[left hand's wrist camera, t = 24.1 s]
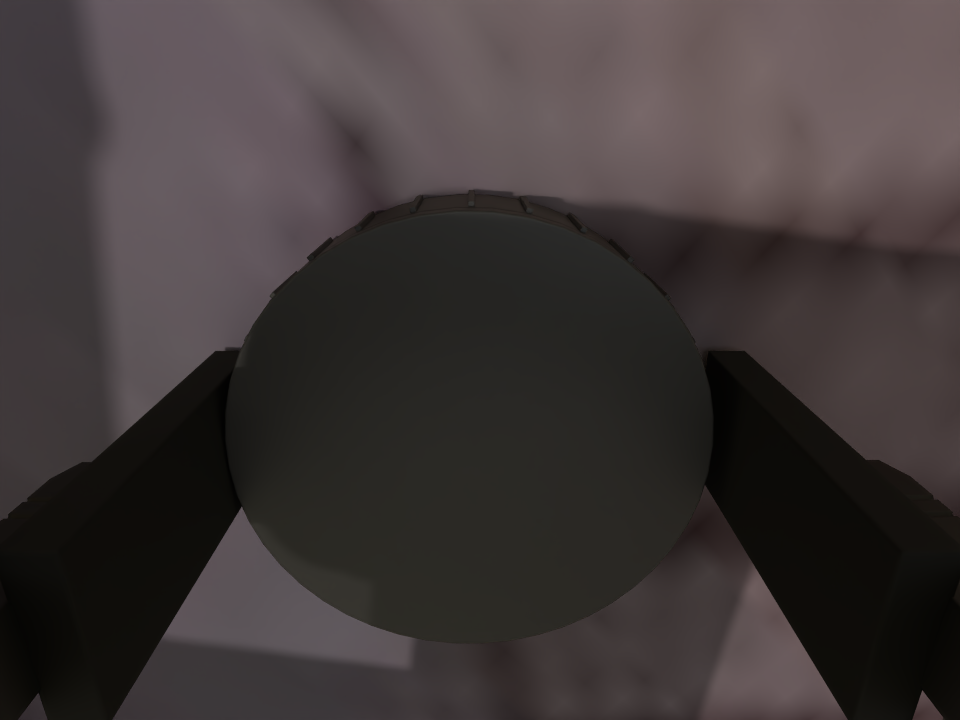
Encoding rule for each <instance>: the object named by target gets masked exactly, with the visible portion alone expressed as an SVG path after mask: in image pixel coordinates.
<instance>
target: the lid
mask: <svg viewBox="0 0 960 720" xmlns="http://www.w3.org/2000/svg"><path fill="white" fill-rule="evenodd" d="M307 259H308V260H309V262H308V263H307V264H306V265H305V266H304V267H302V268H301V269H300V270H299V271H298V272H297V271H296V272H295V273H294V274H292V275H291V276H290V277H289V278H288V279H287V280H286V281H285V282H284V283H282V284H281V285H280V286H279V287H278V288H277V289H276V290H275V291H274V292H272V294H271V295H270V297H271V298H272V299H271V300H270V302H269V303H268V304H267V306H266V307H265V309H264V310H263V312H262V313H261V314H260V316H259V317H258V319H257V320H256V321H255V323H254V324H253V326H252V328H251V330H250V332H249V334H248V335H247V336H246V337H245V340H244V341H245V342H244V344H243V346H242V348H241V350H240V352H239V354H238V358H237V361H236V364H235V367H234V370H233V373H232V376H231V379H230V383H229V390H228V396H227V402H226V408H225V444H226V451H227V458H228V465H229V470H230V473H231V477H232V480H233V484H234V487H235V490H236V494H237V496H238V499H239V501H240V503H241V505H242V507H243V510H244V512H245V514H246V516H247V518H248V521H249V522H250V524H251V525H252V527H253V529H254V530H255V532H256V533H257V535H258V537H259V538H260V540H261V541H262V543H263V544H264V546H265V547H266V548H267V549H268V550H269V552H270V553H271V554H272V555H273V556H274V558H275V559H276V560H277V561H278V563H279V564H280V565H281V566H282V567H283V568H284V569H285V570H286V571H287V572H288V573H289V574H291V575H292V576H293V577H294V578H295V579H296V580H297V581H298V582H299V583H300V584H301V585H303V586H304V587H305V588H307V589H308V590H309V591H311V592H312V593H313V594H315V595H316V596H317V597H319V598H320V599H321V600H323V601H324V602H326V603H328V604H329V605H331V606H333V607H335V608H336V609H338V610H340V611H341V612H343V613H345V614H347V615H349V616H351V617H353V618H356V619H358V620H360V621H362V622H365V623H367V624H369V625H371V626H374V627H377V628H380V629H383V630H386V631H390V632H393V633H396V634H399V635H404V636H408V637H413V638H418V639H423V640H429V641H438V642H447V643H490V642H501V641H510V640H515V639H520V638H525V637H530V636H535V635H539V634H542V633H545V632H549V631H552V630H555V629H558V628H562V627H564V626H567V625H569V624H571V623H574V622H576V621H578V620H581V619H583V618H585V617H588V616H590V615H591V614H593V613H595V612H597V611H599V610H600V609H602V608H604V607H606V606H607V605H609V604H611V603H613V602H614V601H615V600H617V599H618V598H620V597H621V596H622V595H624V594H625V593H627V592H628V591H629V590H631V589H632V588H633V587H635V586H636V585H637V584H638V583H639V582H640V581H641V580H642V579H644V578H645V577H646V576H647V575H648V574H649V573H650V572H651V571H652V570H653V569H655V567H656V566H657V565H658V564H659V563H660V562H661V560H662V559H663V558H664V557H665V556H666V555H667V553H668V552H669V551H670V550H671V549H672V548H673V546H674V545H675V543H676V542H677V540H678V539H679V537H680V536H681V534H682V533H683V531H684V530H685V528H686V527H687V525H688V523H689V521H690V519H691V517H692V515H693V513H694V511H695V509H696V507H697V504H698V502H699V500H700V497H701V494H702V491H703V488H704V485H705V482H706V479H707V476H708V472H709V466H710V461H711V455H712V449H713V430H714V414H713V406H712V398H711V390H710V386H709V382H708V378H707V375H706V371H705V368H704V364H703V361H702V358H701V356H700V354H699V352H698V349H697V347H696V345H695V340H694V338H693V337H692V336H691V334H690V332H689V330H688V329H687V327H686V326H685V324H684V323H683V321H682V319H681V318H680V316H679V315H678V313H677V312H676V310H675V309H674V307H673V306H672V304H671V303H670V302H669V301H668V300H670V299H671V298H670V297H669V295H668V294H667V293H666V292H665V291H664V290H663V289H661V288H660V287H659V286H658V285H657V284H656V283H655V282H654V281H653V280H652V279H651V278H650V277H649V276H647V275H646V274H645V273H644V274H643V273H642V272H641V271H640V270H639V269H638V268H636V267H635V266H634V265H633V264H632V262H633V261H634V259H633V258H632V257H631V256H630V255H629V254H628V253H627V252H626V251H624V250H623V249H622V248H621V247H620V246H619V245H618V244H617V243H616V242H614V241H613V240H612V239H611V240H610V241H609V242H607V241H606V240H605V239H604V238H603V237H601V236H600V235H598V234H597V233H595V232H594V231H592V230H590V229H589V228H587V227H586V226H584V225H583V224H582V223H581V222H580V221H579V220H578V219H577V218H576V217H575V216H574V215H573V214H571V213H569V214H568V215H567V216H565V215H563V214H561V213H558V212H556V211H554V210H552V209H550V208H546V207H543V206H540V205H536V204H533V203H530V202H528V200H527V198H526V197H524V196H520V200H519V199H512V198H506V197H500V196H493V195H474V190H469V194H468V195H466V194H458V195H449V196H440V197H432V198H426V199H423V196H422V195H420V196H417V197H416V199H415V200H414V202H410V203H406V204H402V205H398V206H396V207H394V208H391V209H389V210H386V211H384V212H381V213H379V214H376V215H375V213H374V212H370V213H369V214H368V215H367V216H366V217H365V218H363V219H362V220H361V221H360V222H359V223H358V224H357V225H356V226H354V227H352V228H350V229H349V230H347V231H345V232H344V233H343V234H341V235H340V236H339V237H338V238H336V239H335V240H334V241H333V239H332V238H331V237H330V238H329V239H327V240H326V241H325V242H324V243H323V244H322V245H321V246H319V247H318V248H317V249H316V250H315V251H314V252H313V253H311V254H310V255H309V256H308V257H307Z"/></svg>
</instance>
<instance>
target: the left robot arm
mask: <svg viewBox="0 0 960 720" xmlns="http://www.w3.org/2000/svg"><path fill="white" fill-rule="evenodd" d="M239 352H240V351H215V352H214V353H213V354H212V355H211V356H210V357H208V358H207V359H206V360H205V361H204V362H203V363H202V364H201V365H200V366H198V367H197V368H196V369H195V370H194V371H193V372H192V373H191V374H189V375H188V376H187V377H186V378H185V379H184V380H183V381H182V382H181V383H179V384H178V385H177V386H176V387H175V388H174V389H173V390H172V391H171V392H169V393H168V394H167V395H166V396H165V397H164V398H163V399H162V400H160V401H159V402H158V403H157V404H156V405H155V406H154V407H153V408H152V409H150V410H149V411H148V412H147V413H146V414H145V415H144V416H143V417H142V418H140V419H139V420H138V421H137V422H136V423H135V424H134V425H133V426H132V427H130V428H129V429H128V430H127V431H126V432H125V433H124V434H123V435H121V436H120V437H119V438H118V439H117V440H116V441H115V442H114V443H113V444H111V445H110V446H109V447H108V448H107V449H106V450H105V451H104V452H103V453H101V454H100V455H99V456H98V457H97V458H96V459H95V460H94V461H92V462H82V463H80V464H78V465H76V466H74V467H72V468H70V469H68V470H66V471H64V472H62V473H60V474H59V475H57V476H55V477H53V478H51V479H49V480H48V481H47V482H46V483H45V484H44V485H42V486H41V487H40V488H39V489H38V490H37V491H35V492H34V493H33V494H32V495H31V496H29V497H28V498H27V499H28V500H27V502H22V503H21V504H20V505H19V506H18V507H16V508H15V509H14V510H13V511H12V512H11V513H9V514H8V519H2V520H1V521H0V720H18V719H19V717H20V716H21V715H22V713H23V712H24V711H25V709H26V708H27V707H28V705H29V704H30V703H31V702H32V700H33V699H34V698H35V696H36V695H37V694H38V692H39V695H40V698H41V701H42V704H43V707H44V710H45V713H46V716H47V719H48V720H112V719H113V717H114V716H115V714H116V712H117V711H118V709H119V708H120V706H121V704H122V703H123V701H124V699H125V698H126V696H127V694H128V693H129V691H130V689H131V688H132V686H133V685H134V683H135V681H136V680H137V678H138V676H139V675H140V673H141V671H142V670H143V668H144V666H145V665H146V663H147V661H148V660H149V658H150V657H151V655H152V653H153V652H154V650H155V648H156V647H157V645H158V643H159V642H160V640H161V638H162V637H163V635H164V633H165V632H166V630H167V629H168V627H169V625H170V624H171V622H172V620H173V619H174V617H175V615H176V614H177V612H178V610H179V609H180V607H181V605H182V604H183V602H184V601H185V599H186V597H187V596H188V594H189V592H190V591H191V589H192V587H193V586H194V584H195V582H196V581H197V579H198V578H199V576H200V574H201V573H202V571H203V569H204V568H205V566H206V564H207V563H208V561H209V559H210V558H211V556H212V554H213V553H214V551H215V550H216V548H217V546H218V545H219V543H220V541H221V540H222V538H223V536H224V535H225V533H226V531H227V530H228V528H229V526H230V525H231V523H232V522H233V520H234V518H235V517H236V515H237V513H238V512H239V510H240V508H241V507H242V505H241V503H240V501H239V499H238V496H237V494H236V490H235V487H234V484H233V480H232V477H231V473H230V470H229V465H228V458H227V451H226V444H225V408H226V402H227V396H228V390H229V383H230V379H231V376H232V373H233V370H234V367H235V364H236V361H237V358H238V354H239ZM706 375H707V378H708V382H709V386H710V390H711V398H712V406H713V414H714V430H713V449H712V455H711V461H710V466H709V472H708V476H707V479H706V482H705V485H706V487H707V488H708V490H709V492H710V493H711V495H712V497H713V498H714V500H715V502H716V503H717V505H718V507H719V508H720V510H721V511H722V513H723V515H724V516H725V518H726V520H727V521H728V523H729V525H730V526H731V528H732V530H733V531H734V533H735V535H736V536H737V538H738V539H739V541H740V543H741V544H742V546H743V548H744V549H745V551H746V553H747V554H748V556H749V558H750V559H751V561H752V563H753V564H754V566H755V567H756V569H757V571H758V572H759V574H760V576H761V577H762V579H763V581H764V582H765V584H766V586H767V587H768V589H769V591H770V592H771V594H772V595H773V597H774V599H775V600H776V602H777V604H778V605H779V607H780V609H781V610H782V612H783V614H784V615H785V617H786V619H787V620H788V622H789V623H790V625H791V627H792V628H793V630H794V632H795V633H796V635H797V637H798V638H799V640H800V642H801V643H802V645H803V647H804V648H805V650H806V651H807V653H808V655H809V656H810V658H811V660H812V661H813V663H814V665H815V666H816V668H817V670H818V671H819V673H820V675H821V676H822V678H823V679H824V681H825V683H826V684H827V686H828V688H829V689H830V691H831V693H832V694H833V696H834V698H835V699H836V701H837V703H838V704H839V706H840V707H841V709H842V711H843V712H844V714H845V716H846V717H847V719H848V720H912V719H913V716H914V713H915V710H916V707H917V704H918V701H919V698H920V695H921V692H922V690H923V691H924V693H925V694H926V695H927V697H928V698H929V699H930V701H931V702H932V703H933V704H934V706H935V707H936V708H937V710H938V711H939V712H940V714H941V715H942V716H943V720H960V518H959V517H958V516H953V514H952V511H951V510H950V509H948V508H947V507H946V506H945V505H944V504H942V503H941V502H940V501H939V500H934V499H933V495H932V494H931V493H929V492H928V491H927V490H926V489H925V488H923V487H922V486H921V485H920V484H919V483H917V482H916V481H915V480H914V479H913V478H912V477H910V476H908V475H906V474H905V473H903V472H901V471H899V470H897V469H895V468H893V467H891V466H889V465H887V464H885V463H883V462H881V461H879V460H865V459H864V458H863V457H862V456H861V455H860V454H859V453H858V452H856V451H855V450H854V449H853V448H852V447H851V446H850V445H849V444H848V443H846V442H845V441H844V440H843V439H842V438H841V437H840V436H839V435H838V434H836V433H835V432H834V431H833V430H832V429H831V428H830V427H829V426H827V425H826V424H825V423H824V422H823V421H822V420H821V419H820V418H819V417H817V416H816V415H815V414H814V413H813V412H812V411H811V410H810V409H809V408H807V407H806V406H805V405H804V404H803V403H802V402H801V401H800V400H799V399H797V398H796V397H795V396H794V395H793V394H792V393H791V392H790V391H788V390H787V389H786V388H785V387H784V386H783V385H782V384H781V383H780V382H778V381H777V380H776V379H775V378H774V377H773V376H772V375H771V374H770V373H768V372H767V371H766V370H765V369H764V368H763V367H762V366H761V365H760V364H758V363H757V362H756V361H755V360H754V359H753V358H752V357H751V356H749V355H748V354H747V353H746V352H745V351H709V352H708V359H707V366H706Z"/></svg>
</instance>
